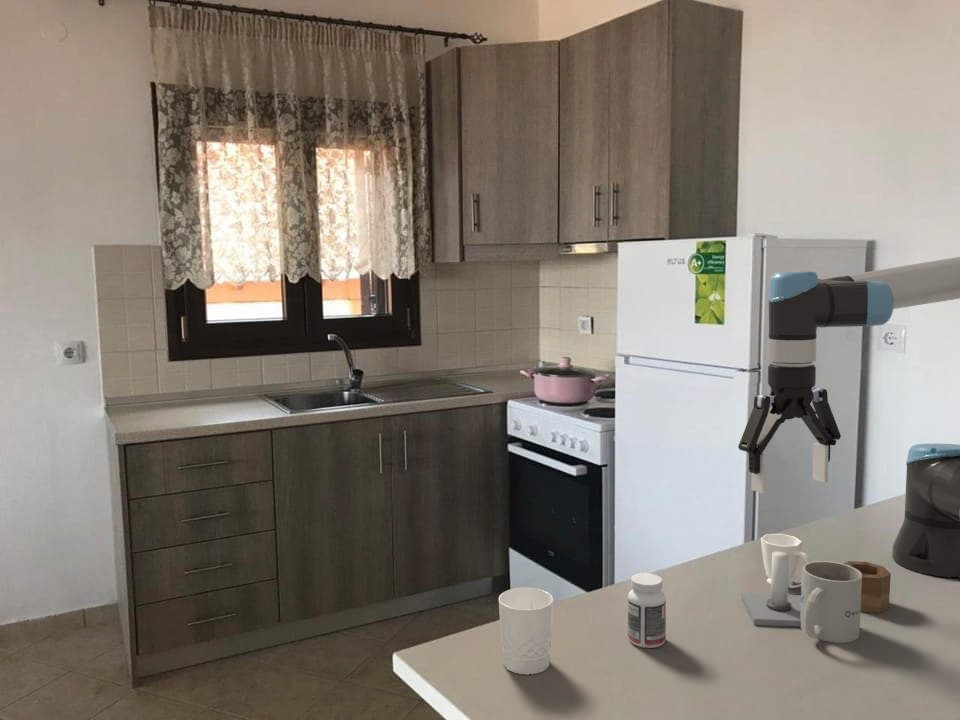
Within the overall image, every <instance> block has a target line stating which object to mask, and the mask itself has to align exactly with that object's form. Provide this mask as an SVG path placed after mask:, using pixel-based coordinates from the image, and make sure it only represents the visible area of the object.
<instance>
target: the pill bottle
mask: <svg viewBox="0 0 960 720" xmlns="http://www.w3.org/2000/svg"><path fill="white" fill-rule="evenodd" d="M630 586H631V588H632V589H631V590H630V591H629V592H628V596H627V637H628V640H629V642H630V643H631V644H633V645H634V646H637V647H640V648H644V649H655V648H658V647H661V646H663V645H664V643H665V642H666V637H667V636H666V632H667V631H666V630H667V629H666V625H667V623H666V620H667V618H666V617H667V615H666V614H667V609H666V607H667V605H666V604H667V600H666V598H667V597H666V595H665V593H664V592H663V591H662V589H663V587H664V586H663V579H662V577H661V576H659V575H657V574H654V573H650V572H641V573H635V574H633V575H632V576H631V579H630Z"/></svg>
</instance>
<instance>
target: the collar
mask: <svg viewBox="0 0 960 720" xmlns="http://www.w3.org/2000/svg"><path fill="white" fill-rule="evenodd" d="M842 564H845V565H849V566H851V567H854V568H856V569H857V570H859V571H860V572H861V573H862V589H861V610H860V613H872V614H873V613H877V614H880V613H883V612H884V611H887V610H888V609H890V597H891V596H890V593H891V592H890V591H891V575H892V573H891V572H890V571H889V570H888V569H887V568H886V567H885V566H883V565H881V564H876V563H872V562H868V561H857V560H856V561H855V560H854V561H853V560H850V561H849V560H847V561H845V562H843V563H842Z"/></svg>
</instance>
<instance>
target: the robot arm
mask: <svg viewBox="0 0 960 720" xmlns="http://www.w3.org/2000/svg"><path fill="white" fill-rule="evenodd" d="M959 299H960V256H957V257H956V256H955V257H949V258H944V259H938V260H937V259H936V260H931V261H925V262H920V263H919V262H918V263H914V264H906V265H902V266H896V267H888V268H884V269H877V270H872V271H866V272H859V273H853V274H848V275H843V276H842V275H841V276H837V277H830V278H824V279H823V278H822V279H820V278H818V274H817V273H816V271H810V270H809V271H808V270H806V271H805V270H804V271H802V270H801V271H800V270H799V271H778V272H775V273H773V274H772V275H771V276H770V280H769V289H768V298H767V302H768V350H767V351H768V357H767V358H768V361H769V362H771V363H770V364H768V367H767V384H768V386H769V387H770V393H769V395H765V394H761V393H757V394H755V395H754V399H753V400H754V401H753V408H752V410H751V413H750V415H749V418H748V421H747V423H746V425H745V429H744V431H743V434H742V436H741V438H740V441H739V443H738V445H737V446H738V447H737V448H738V450H739V451H742V452H745V453H748V454H747V455H748V472H749V473H751V476H750V478H751V479H750V481H751V483H750V484H751V485H750V486H751V487H750V488H751V491H754V492H757V493H759V494H761V495H762V494H766V493H767V455H766V454H764V453H763V452H764V451H765V450H766V448H767V446H768V445H769V444H770V442H771V440H772V439H773V437H774V435H775V434H776V433H777V430H778V429H779V427H780V425H781V424H784V423H785V421H786V420H793V419H795V418H797V419H801V420H802V421H803V423H804V424H805V426H806V427H807V428H808V430H809V431H810V433H811V434H812V435H813V436H814V439H815V440H816V441H817V442H812V480H814V481H818V482H821V483H824V484H825V483H829V482H828V481H829V462H831V446H836V444H837V441H838V440H840V439H841V437H842V435H841V432H840V430H839V427H838V423H837V422H836V420H835V417H834V414H833V411H832V407H831V406H830V403H829V397H828V391H827V389H826V388H821V387H815V386H816V380H817V379H816V378H817V377H816V376H817V375H816V372H817V367H816V366H815V365H814V363H815V362H816V361H817V338H818V337H817V333H818V332H817V331H818V330H817V329H818V328H838V327H839V328H840V327H841V328H843V327H844V328H847V327H849V328H850V327H865V328H869V327H872V326H883V325H885V324H887V323H888V322H889V321H890V319H891V317H892V316H893V312H894V310H896V309H901V308H908V307H915V306H921V305H926V304H935V303H941V302H946V301H947V302H948V301H952V300H959ZM811 404H812V405H811ZM907 452H908V453H907V459H906V463H905V464H906V477H905V478H906V479H905V495H904V496H905V500H904V519H903V522H902V524H901V527H900V528H899V531H898V533H897V535H896V537H895V539H894V542H893V545H892V553H891V554H892V556H891V557H892V559H893V560H894V562H895V563H897V564H898V565H899V566H902V567H903V568H906V569H908V570H910V571H915V572H917V573H922V574H925V575H929V574H930V575H931V576H934V575H935V577H941V576H943V578H952V577H960V444H959V443H958V444H957V443H919V444H915V445H912V446H910V447H909V449H908V451H907ZM930 575H929V576H930Z"/></svg>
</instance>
